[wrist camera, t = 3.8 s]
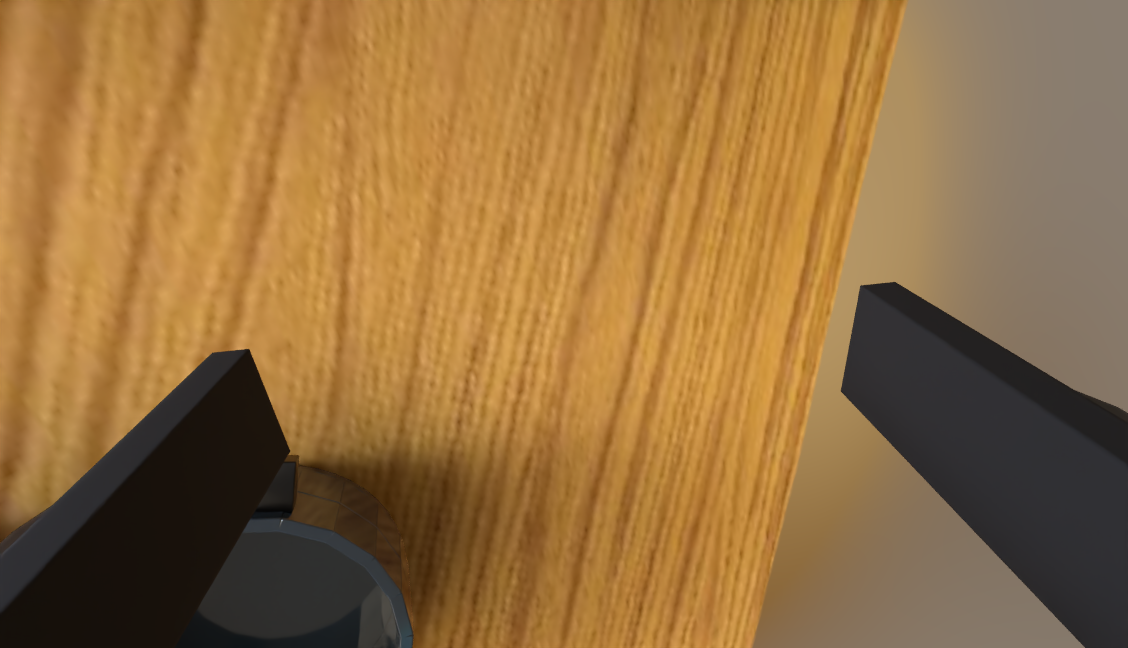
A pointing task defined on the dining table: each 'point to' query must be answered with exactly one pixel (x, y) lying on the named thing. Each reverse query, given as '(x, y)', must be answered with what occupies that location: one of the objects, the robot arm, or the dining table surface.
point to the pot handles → (282, 488)
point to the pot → (311, 576)
